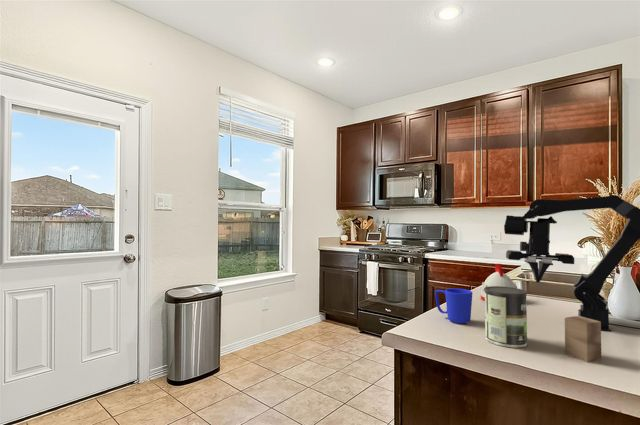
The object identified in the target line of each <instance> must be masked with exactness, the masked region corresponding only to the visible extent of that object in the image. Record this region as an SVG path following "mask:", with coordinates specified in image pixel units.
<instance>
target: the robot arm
mask: <svg viewBox="0 0 640 425" xmlns="http://www.w3.org/2000/svg"><path fill="white" fill-rule="evenodd" d="M603 209H610V210H613V211H614V212H616V213H617V214H619V215H620V216H622V217H624V218H625V219H627V220H626V222H625V225H624V227H623V230H622V232H621V234H620V235H619V236H618V238H617V239H616V241H615V242H614V243H613V245H612V246H611V247H610V248H609V250H608V251H606V253H605V255H604V256H603V257H602V259H601V260H600V261H599V262H598V263H597V265H596V266H595V267H594V269H593V270H592V271H591V272H590V273H589V274H587V275H585V274H584V273H581V274H580V277H579V279H577V281H574V283H573V287H574V289H573V290H574V291H573V294H574V298H576V299H577V300H578V301H579V302H581V303H582V304H580V309H578V310H577V311H578V312H577V313H578V314H577V316H581V317H585V318H589V319H593V320H597V321H600V322H601V331H606V332H607V331H609V332H611V331H612V328H610V323H609V322H610V321H609V320H610V319H609V318H610V316H609V315H610V314H609V312H610V311H609V310H610V309H609V308H608V307H607V306H608V303H607V299H606V298H605V297H604V296H602V295H601V292H602V289H603V287H604V285H605V282H606V280H607V279H608V277H609V276H610V275H611V273H612V272H613V271H614V270H615V269H616V267H617V266H618V265H619V264H620V262H621V261H622V260H623V259H624V257H625V256H626V255H627V254H628V252H629V251H630V250H631V249H632V248H633V246H634V245H635V244H636V242H638V241H640V207H637V206H635V205H634V204H632V203H630V202H628V201H627V200H624V199H623V198H621V197H620V196H619V195H617V194H611V195H607V196H596V197H585V198H576V199H574V198H573V199H566V200H565V199H564V200H563V199H562V200H559V199H547V198H546V199H542V198H538V199H534V200H533V201H532V202H531V203H530V205H529V210H528V211H526V213H524V214H523V216H518V215H517V216H514V215H506V216H505V217H506V219H505V220H504V221H505V222H504V228H503V229H504V230H503V232H504V234H505V235H514V236H515V235H516V236H524V235H525V234H526V233H528V232H529V238H528V242H527V241H520V243H519V250H516V249H515V250H512V249H508V250H506V252H505V258H506V259H507V260H512V261H520V260H522V259H524V262H525V263H526V264H528V265H529V267H530V269H531V271H532V274H533V277H534V280H535V282H536V283H540V282H541V280H542V278H543V276H544V275H545V273H546V271H547V270H548V269H549V267H550V266H554V263H553V261H555V262H560V263H562V264H563V265H564V264H567V265H568V264H569V265H575V256H574V255H572V254H569V253H557V252H555V254H550V244H551V240H550V236H551V235H550V233H551V232H550V231H551V230H550V229H551V224H553V225H554V224H557V223H558V220H557V221H556V220H555V219H554V218H553V216H550V215H555V214H559V213H563V212H573V211H574V212H577V211H587V210H589V211H590V210H603ZM546 216H549V217H547V218H545V217H546ZM537 217H538V218H537ZM542 217H544V218H542ZM535 218H537V219H536V220H533V219H535ZM537 260H538V262H537Z"/></svg>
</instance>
